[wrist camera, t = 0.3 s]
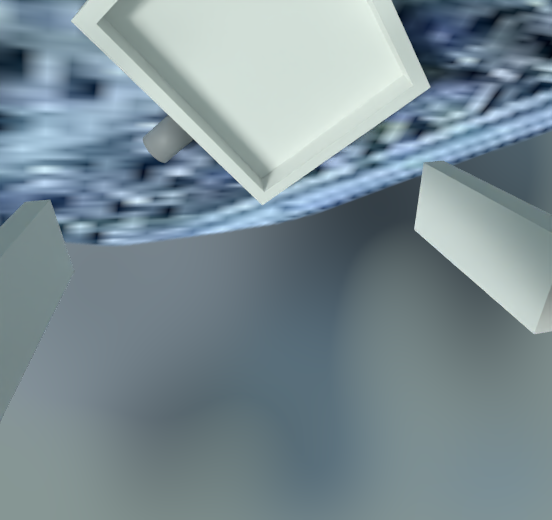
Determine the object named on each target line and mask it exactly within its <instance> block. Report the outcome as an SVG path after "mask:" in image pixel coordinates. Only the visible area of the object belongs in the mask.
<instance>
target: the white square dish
mask: <svg viewBox="0 0 552 520" xmlns="http://www.w3.org/2000/svg"><path fill="white" fill-rule="evenodd" d="M71 22H72V23H74V24H75V25H76V26H77V27H78V28H79V29H80V30H81V31H82V32H83V33H84V34H85V35H86V36H87V37H88V38H89V39H90V40H91V41H92V42H93V43H94V44H95V45H96V46H97V47H98V48H100V49H101V50H102V51H103V52H104V53H105V54H106V55H107V56H108V57H109V58H110V59H111V60H112V61H113V62H114V63H115V64H116V65H117V66H118V67H119V68H120V69H121V70H122V71H123V72H124V73H126V74H127V75H128V76H129V77H130V78H131V79H132V80H133V81H134V82H135V83H136V84H137V85H138V86H139V87H140V88H141V89H142V90H143V91H144V92H145V93H146V94H147V95H148V96H149V97H150V98H151V99H153V100H154V101H155V102H156V103H157V104H158V105H159V106H160V107H161V108H162V109H163V110H164V111H165V112H166V113H167V114H168V116H167V117H165V118H164V119H163V120H162V121H161V122H160V123H159V124H158V125H156V126H155V127H154V128H153V129H152V130H151V131H150V132H149V133H147V134H146V135H145V136H144V137H143V142H144V145H145V147H146V148H147V150H148V151H149V152H150V154H151V155H152V156H153V157H155V158H156V159H157V160H159V161H161V162H163V163H165V162H167V161H168V160H170V159H171V158H172V157H173V156H174V155H176V154H177V153H178V152H179V151H180V150H182V149H183V148H184V147H185V146H186V145H187V144H189V143H190V142H191V141H192V140H193V139H194V140H195V141H196V142H197V143H198V144H199V145H200V146H201V147H202V148H203V149H205V150H206V151H207V152H208V153H209V154H210V155H211V156H212V157H213V158H214V159H215V160H216V161H217V162H218V163H219V164H220V165H221V166H222V167H223V168H224V169H225V170H226V171H227V172H228V173H229V174H231V175H232V176H233V177H234V178H235V179H236V180H237V181H238V182H239V183H240V184H241V185H242V186H243V187H244V188H245V189H246V190H247V191H248V192H249V193H250V194H251V195H252V196H253V197H254V198H255V199H256V200H258V201H259V202H260V203H261V204H262V205H263V204H265V203H266V202H268V201H269V200H270V199H272V198H273V197H275V196H276V195H278V194H279V193H280V192H282V191H283V190H285V189H286V188H288V187H289V186H290V185H292V184H293V183H295V182H296V181H298V180H299V179H300V178H302V177H303V176H305V175H306V174H308V173H309V172H310V171H312V170H313V169H315V168H316V167H318V166H319V165H320V164H322V163H323V162H325V161H326V160H328V159H329V158H330V157H332V156H333V155H335V154H336V153H338V152H339V151H340V150H342V149H343V148H345V147H346V146H348V145H349V144H350V143H352V142H353V141H355V140H356V139H358V138H359V137H360V136H362V135H363V134H365V133H366V132H368V131H369V130H370V129H372V128H373V127H375V126H376V125H377V124H379V123H380V122H382V121H383V120H385V119H386V118H387V117H389V116H390V115H392V114H393V113H395V112H396V111H397V110H399V109H400V108H402V107H403V106H405V105H406V104H407V103H409V102H410V101H412V100H413V99H415V98H416V97H417V96H419V95H420V94H422V93H423V92H425V91H426V90H427V89H429V88H430V85H429V83H428V80H427V78H426V76H425V74H424V72H423V69H422V67H421V65H420V63H419V60H418V58H417V56H416V54H415V52H414V49H413V47H412V45H411V43H410V40H409V38H408V36H407V34H406V32H405V29H404V27H403V25H402V23H401V21H400V18H399V16H398V14H397V12H396V9H395V7H394V5H393V3H392V1H391V0H87V1H86V2H85V4H84V5H83V6H82V7H81V8H80V10H79V11H78V12H77V14H76V15H75V16H74V18H73V19H72V20H71Z"/></svg>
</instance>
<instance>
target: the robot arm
mask: <svg viewBox="0 0 552 520" xmlns="http://www.w3.org/2000/svg"><path fill="white" fill-rule="evenodd" d="M415 230H416V232H418V233H419V234H420V235H421V236H422V237H423V238H424V239H426V240H427V241H428V242H429V243H430V244H431V245H433V246H434V247H435V248H436V249H437V250H438V251H439V252H440V253H442V254H443V255H444V256H445V257H446V258H447V259H449V260H450V261H451V262H452V263H453V264H454V265H455V266H457V267H458V268H459V269H460V270H461V271H462V272H463V273H465V274H466V275H467V276H468V277H469V278H470V279H471V280H473V281H474V282H475V283H476V284H477V285H478V286H480V287H481V288H482V289H483V290H484V291H485V292H486V293H487V294H489V295H490V296H491V297H492V298H493V299H494V300H496V301H497V302H498V303H499V304H500V305H501V306H502V307H504V308H505V309H506V310H507V311H508V312H509V313H510V314H512V315H513V316H514V317H515V318H516V319H517V320H518V321H520V322H521V323H522V324H523V325H524V326H525V327H527V328H528V329H529V330H530V331H531V332H532V333H533V334H538V333H544V332H549V331H552V215H551V214H549V213H547V212H544V211H543V210H541V209H539V208H537V207H534V206H533V205H531V204H529V203H527V202H525V201H523V200H520V199H519V198H517V197H514V196H513V195H511V194H509V193H506V192H505V191H503V190H500V189H499V188H497V187H494V186H493V185H491V184H488V183H486V182H485V181H482V180H481V179H479V178H476V177H474V176H473V175H470V174H469V173H467V172H464V171H462V170H460V169H458V168H456V167H454V166H452V165H450V164H448V163H446V162H444V161H435V162H425V163H424V165H423V172H422V179H421V186H420V193H419V201H418V208H417V215H416V222H415ZM73 274H74V269H73V266H72V263H71V260H70V257H69V255H68V251H67V248H66V245H65V242H64V239H63V236H62V233H61V230H60V227H59V224H58V222H57V219H56V216H55V213H54V210H53V207H52V204H51V201H50V200H41V201H31V202H25V203H24V204H23V205H22V206H21V207H20V208H19V209H18V210H17V211H16V212H15V213H14V214H13V215H12V216H11V217H10V218H9V219H8V220H7V221H6V222H5V223H4V224H3V225H2V226H1V227H0V422H1V420H2V417H3V416H4V413H5V411H6V409H7V407H8V405H9V403H10V401H11V399H12V397H13V395H14V393H15V391H16V389H17V387H18V385H19V383H20V381H21V379H22V377H23V375H24V373H25V371H26V369H27V367H28V365H29V363H30V361H31V359H32V357H33V355H34V353H35V351H36V349H37V347H38V344H39V342H40V341H41V338H42V336H43V334H44V332H45V330H46V328H47V326H48V324H49V322H50V320H51V318H52V316H53V314H54V312H55V310H56V308H57V306H58V304H59V302H60V300H61V298H62V296H63V294H64V292H65V290H66V288H67V286H68V284H69V282H70V280H71V278H72V275H73Z"/></svg>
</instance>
